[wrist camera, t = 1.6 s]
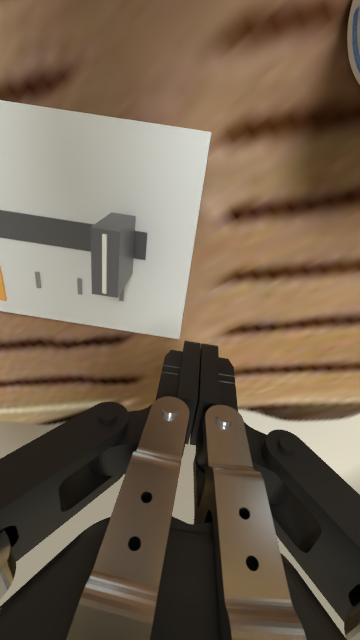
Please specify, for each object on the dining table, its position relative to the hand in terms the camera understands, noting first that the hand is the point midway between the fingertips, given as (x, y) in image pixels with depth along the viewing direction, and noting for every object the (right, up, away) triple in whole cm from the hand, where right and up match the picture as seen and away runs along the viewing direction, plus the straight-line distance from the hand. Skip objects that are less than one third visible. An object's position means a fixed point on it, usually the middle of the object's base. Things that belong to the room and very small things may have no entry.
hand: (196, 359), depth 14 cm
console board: (-13, +11, +14) cm, 22 cm away
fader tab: (-6, +8, +12) cm, 16 cm away
